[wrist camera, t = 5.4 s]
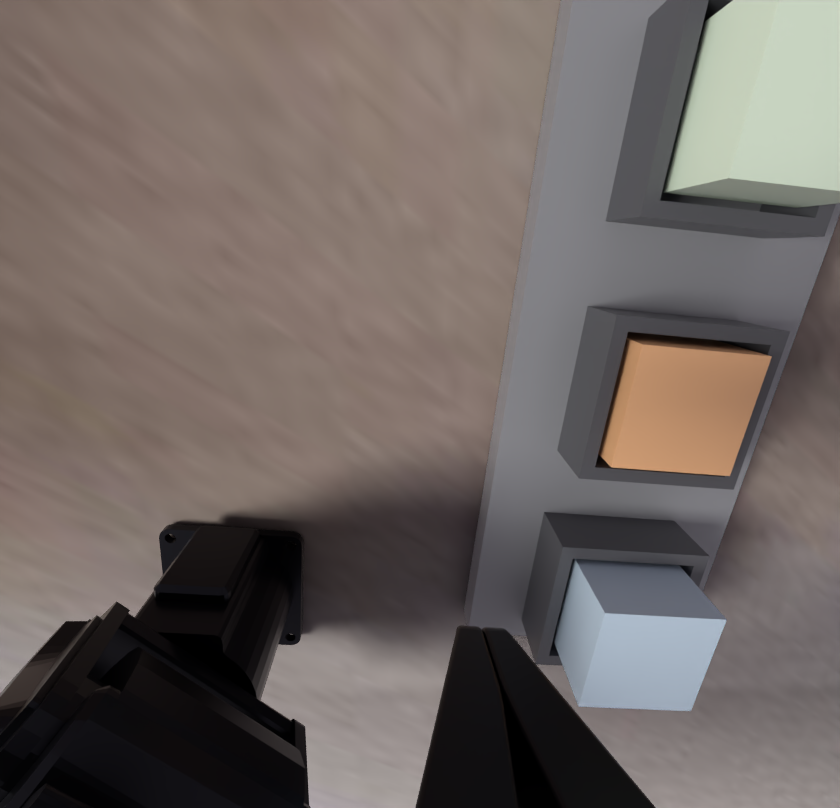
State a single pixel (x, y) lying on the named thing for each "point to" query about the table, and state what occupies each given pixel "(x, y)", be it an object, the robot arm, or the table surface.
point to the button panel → (621, 317)
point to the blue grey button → (635, 635)
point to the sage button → (763, 106)
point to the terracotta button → (681, 404)
